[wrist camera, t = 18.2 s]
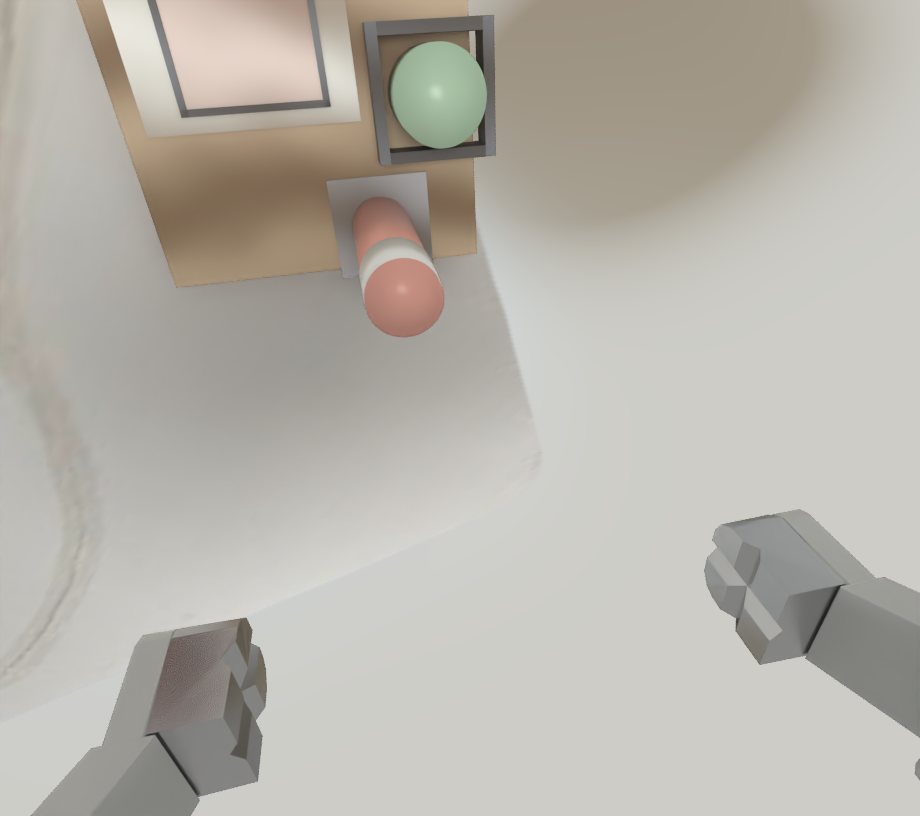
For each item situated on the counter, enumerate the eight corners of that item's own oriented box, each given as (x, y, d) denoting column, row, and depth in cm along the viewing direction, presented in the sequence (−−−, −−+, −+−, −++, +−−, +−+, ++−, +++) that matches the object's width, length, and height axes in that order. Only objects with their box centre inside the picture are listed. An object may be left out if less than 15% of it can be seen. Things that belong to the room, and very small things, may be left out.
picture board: (485, 254, 32) (497, 269, 30) (184, 288, 30) (172, 307, 28) (472, -278, 21) (489, -316, 19) (-12, -287, 19) (-57, -331, 17)
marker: (390, 266, 30) (415, 351, 22) (340, 234, 29) (347, 313, 21) (422, 218, 29) (461, 289, 21) (372, 182, 28) (393, 244, 20)
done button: (473, 136, 28) (487, 144, 25) (393, 142, 27) (399, 152, 25) (470, 39, 25) (485, 38, 23) (382, 44, 25) (389, 44, 22)
